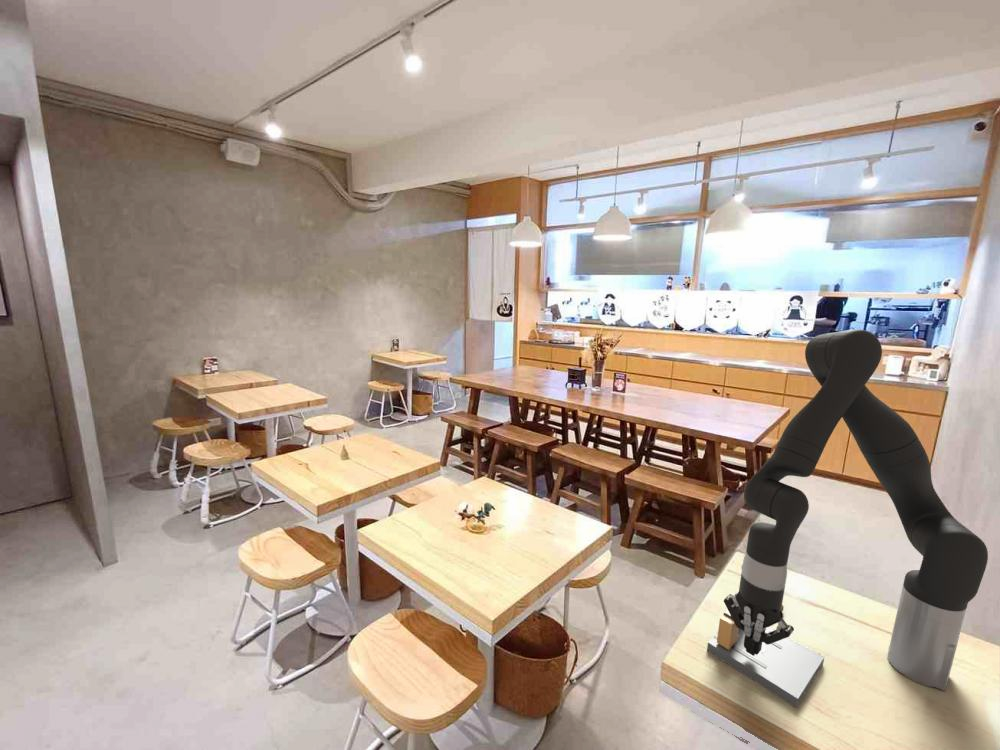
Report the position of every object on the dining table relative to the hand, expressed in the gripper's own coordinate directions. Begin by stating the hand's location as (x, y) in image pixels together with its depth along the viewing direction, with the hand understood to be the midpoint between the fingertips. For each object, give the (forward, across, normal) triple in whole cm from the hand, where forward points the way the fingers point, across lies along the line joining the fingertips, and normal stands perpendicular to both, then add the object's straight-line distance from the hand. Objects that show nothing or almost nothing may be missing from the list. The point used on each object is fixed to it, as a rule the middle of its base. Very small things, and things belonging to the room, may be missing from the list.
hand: (751, 651), depth 92 cm
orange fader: (+1, +5, 0) cm, 5 cm away
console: (+4, -1, -5) cm, 6 cm away
